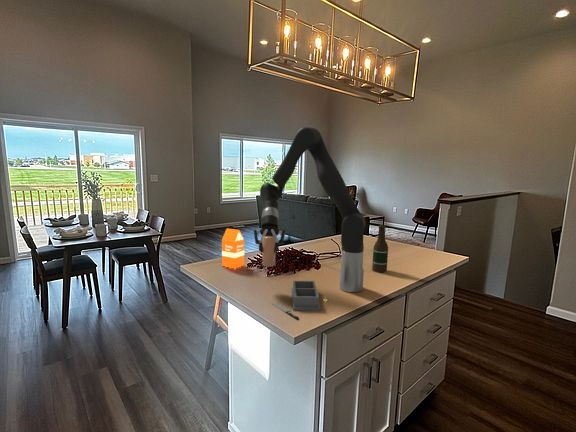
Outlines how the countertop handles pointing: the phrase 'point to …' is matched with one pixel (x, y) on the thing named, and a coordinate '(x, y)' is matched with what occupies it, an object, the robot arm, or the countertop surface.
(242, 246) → the orange juice
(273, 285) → the countertop surface
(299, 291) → the box
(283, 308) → the chef's knife
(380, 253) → the beer bottle
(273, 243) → the tan cylinder
